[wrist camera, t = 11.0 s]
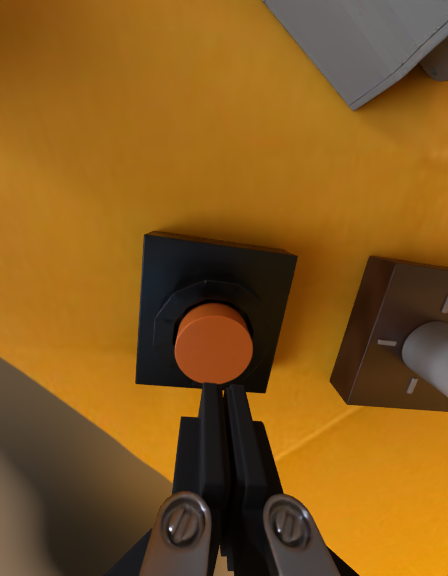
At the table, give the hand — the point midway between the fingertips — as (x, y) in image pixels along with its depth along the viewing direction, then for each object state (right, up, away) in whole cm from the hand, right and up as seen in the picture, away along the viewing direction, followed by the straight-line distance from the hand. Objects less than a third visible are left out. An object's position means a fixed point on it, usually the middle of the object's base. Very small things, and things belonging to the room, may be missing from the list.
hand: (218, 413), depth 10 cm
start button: (0, +2, +6) cm, 6 cm away
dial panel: (+16, +1, +12) cm, 20 cm away
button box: (-1, +3, +10) cm, 11 cm away
